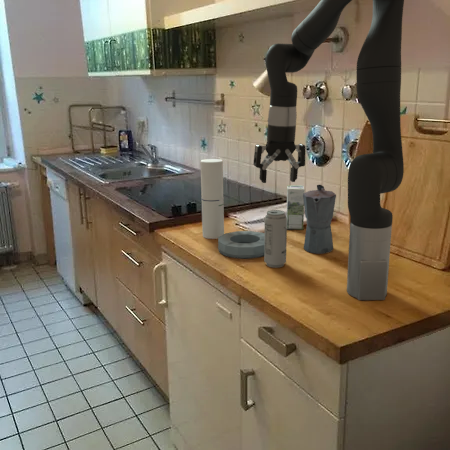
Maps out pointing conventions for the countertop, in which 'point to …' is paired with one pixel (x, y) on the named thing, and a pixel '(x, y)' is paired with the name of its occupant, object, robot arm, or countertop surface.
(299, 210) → the syrup box
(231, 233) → the blue-grey ring
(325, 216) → the moka pot
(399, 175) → the robot arm
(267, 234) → the energy drink can
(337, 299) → the countertop surface
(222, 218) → the cylindrical container
